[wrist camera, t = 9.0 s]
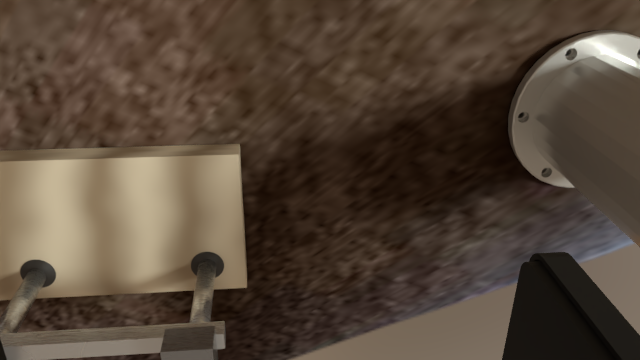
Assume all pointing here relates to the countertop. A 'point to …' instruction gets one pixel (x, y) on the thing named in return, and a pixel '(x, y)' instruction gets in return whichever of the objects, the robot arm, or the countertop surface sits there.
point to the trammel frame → (132, 334)
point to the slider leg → (22, 301)
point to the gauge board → (121, 219)
